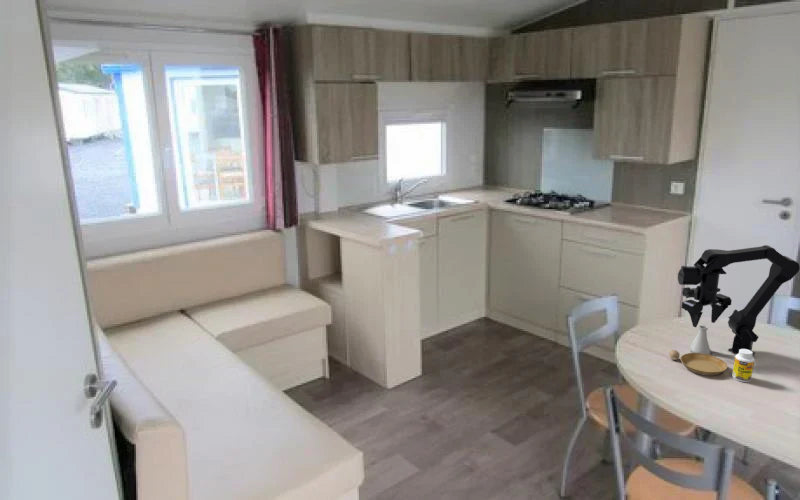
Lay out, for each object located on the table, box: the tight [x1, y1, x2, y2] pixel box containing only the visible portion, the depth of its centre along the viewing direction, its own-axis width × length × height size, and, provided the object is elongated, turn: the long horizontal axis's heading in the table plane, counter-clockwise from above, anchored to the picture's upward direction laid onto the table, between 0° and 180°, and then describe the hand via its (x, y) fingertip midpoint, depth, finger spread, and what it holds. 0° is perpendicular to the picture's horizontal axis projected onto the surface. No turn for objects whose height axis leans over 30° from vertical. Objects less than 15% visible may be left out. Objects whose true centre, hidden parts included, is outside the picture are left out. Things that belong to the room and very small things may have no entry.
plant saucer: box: [679, 352, 728, 376], centre depth 205 cm, size 15×15×3 cm
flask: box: [689, 324, 711, 355], centre depth 217 cm, size 7×7×10 cm
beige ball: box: [668, 349, 681, 361], centre depth 212 cm, size 4×4×4 cm
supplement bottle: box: [731, 349, 755, 383], centre depth 196 cm, size 6×6×10 cm
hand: (703, 324), depth 215 cm, fingers open, 9 cm apart
